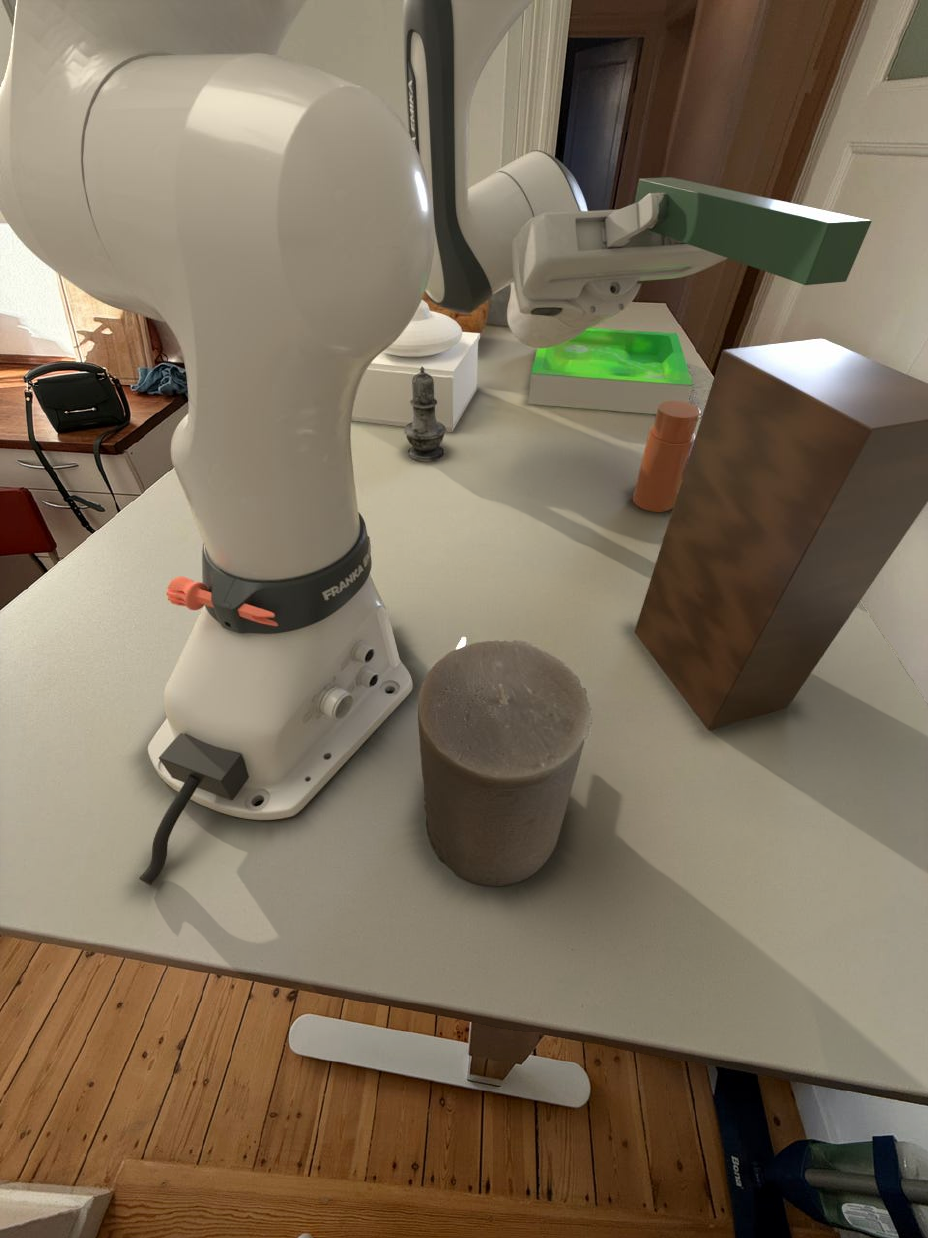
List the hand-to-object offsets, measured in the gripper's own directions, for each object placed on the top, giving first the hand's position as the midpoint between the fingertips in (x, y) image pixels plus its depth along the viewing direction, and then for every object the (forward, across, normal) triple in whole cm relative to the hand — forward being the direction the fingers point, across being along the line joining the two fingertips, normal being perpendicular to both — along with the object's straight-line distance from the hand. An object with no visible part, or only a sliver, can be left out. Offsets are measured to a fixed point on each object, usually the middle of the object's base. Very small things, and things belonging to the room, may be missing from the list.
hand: (685, 202), depth 42 cm
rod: (+4, 0, -4) cm, 6 cm away
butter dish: (-55, +11, -5) cm, 57 cm away
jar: (-22, -10, -24) cm, 34 cm away
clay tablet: (-80, -2, +9) cm, 80 cm away
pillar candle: (+7, +24, -41) cm, 48 cm away
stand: (+1, 0, -37) cm, 37 cm away
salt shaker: (-40, +14, -14) cm, 45 cm away
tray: (-55, -24, -6) cm, 60 cm away
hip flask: (-85, -20, +12) cm, 88 cm away
